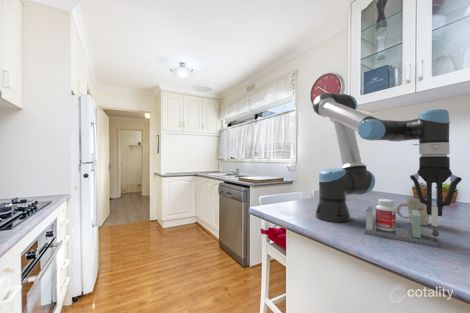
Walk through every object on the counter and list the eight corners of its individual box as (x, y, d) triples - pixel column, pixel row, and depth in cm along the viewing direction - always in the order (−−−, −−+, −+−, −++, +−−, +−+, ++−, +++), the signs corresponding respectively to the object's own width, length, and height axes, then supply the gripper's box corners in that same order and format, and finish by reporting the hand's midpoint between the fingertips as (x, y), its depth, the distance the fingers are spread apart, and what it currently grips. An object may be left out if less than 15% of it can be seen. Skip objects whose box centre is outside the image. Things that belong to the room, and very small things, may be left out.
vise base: (364, 233, 80) (364, 211, 80) (367, 226, 88) (367, 206, 88) (437, 246, 67) (436, 220, 67) (433, 237, 75) (433, 213, 75)
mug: (436, 226, 87) (436, 202, 87) (402, 224, 90) (402, 201, 90) (423, 220, 95) (423, 198, 95) (392, 219, 98) (391, 197, 98)
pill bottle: (395, 233, 76) (394, 202, 76) (375, 229, 79) (374, 200, 80) (396, 228, 80) (396, 199, 80) (377, 225, 84) (376, 197, 84)
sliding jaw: (412, 236, 71) (412, 214, 72) (411, 229, 79) (411, 209, 79) (440, 241, 67) (440, 218, 67) (437, 233, 74) (436, 212, 74)
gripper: (409, 155, 73) (409, 224, 73) (464, 155, 65) (465, 232, 65) (408, 155, 79) (409, 219, 79) (459, 155, 71) (459, 225, 71)
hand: (434, 224), depth 72 cm, fingers closed
